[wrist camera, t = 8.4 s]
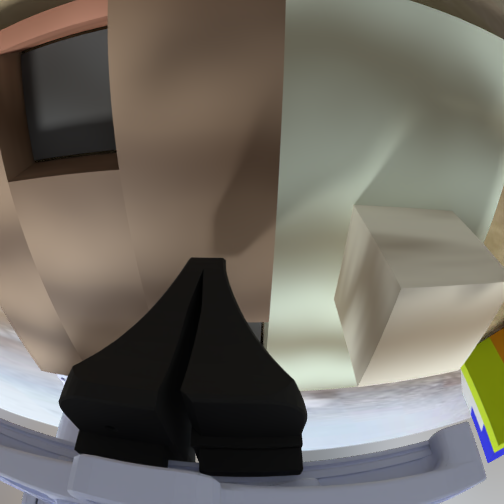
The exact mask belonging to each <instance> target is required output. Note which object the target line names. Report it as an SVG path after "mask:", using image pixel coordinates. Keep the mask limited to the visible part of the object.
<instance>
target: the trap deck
mask: <svg viewBox="0 0 504 504" xmlns="http://www.w3.org/2000/svg"><path fill="white" fill-rule="evenodd" d="M103 26H108V29H104V30H100V31H96V32H91V33H87V34H84V35H80V36H76V37H72V38H69V39H66V40H62V41H59V42H56V43H53V44H49V45H46V46H43V47H41V48H38V49H35V50H32V51H29V52H27V53H24V54H21V52H22V51H24V50H27V49H30V48H32V47H35V46H38V45H41V44H43V43H46V42H49V41H52V40H56V39H59V38H62V37H65V36H69V35H72V34H76V33H79V32H83V31H87V30H91V29H95V28H99V27H103ZM108 150H117V152H112V153H102V154H93V155H84V156H76V157H69V158H61V159H54V160H48V161H41V162H35V160H40V159H46V158H53V157H60V156H67V155H74V154H82V153H90V152H99V151H108ZM503 185H504V39H502V38H500V37H498V36H496V35H494V34H492V33H490V32H488V31H486V30H484V29H482V28H480V27H478V26H475V25H473V24H471V23H469V22H467V21H464V20H462V19H460V18H457V17H455V16H452V15H450V14H447V13H445V12H442V11H439V10H437V9H434V8H431V7H428V6H425V5H422V4H419V3H416V2H413V1H410V0H75V1H72V2H69V3H66V4H63V5H60V6H57V7H55V8H52V9H49V10H46V11H44V12H41V13H39V14H36V15H34V16H31V17H29V18H26V19H24V20H22V21H20V22H17V23H15V24H13V25H11V26H9V27H7V28H4V29H2V30H0V306H1V308H2V310H3V311H4V313H5V315H6V317H7V318H8V320H9V322H10V324H11V325H12V327H13V329H14V330H15V332H16V333H17V335H18V337H19V338H20V340H21V341H22V343H23V345H24V346H25V348H26V349H27V351H28V352H29V354H30V355H31V357H32V358H33V359H34V361H35V362H36V364H37V365H38V367H39V368H40V369H41V371H45V372H50V373H55V374H60V375H65V376H68V375H69V373H70V371H71V369H72V367H73V366H74V365H76V364H78V363H80V362H81V361H83V360H85V359H87V358H89V357H90V356H92V355H94V354H96V353H97V352H99V351H101V350H102V349H104V348H105V347H107V346H108V345H110V344H111V343H112V342H114V341H115V340H117V339H118V338H119V337H121V336H122V335H123V334H124V333H125V332H127V331H128V330H129V329H130V328H131V327H133V326H134V325H135V324H136V323H137V322H138V321H139V320H140V319H141V318H142V317H143V316H144V315H145V314H146V313H147V312H148V311H149V310H150V309H151V308H152V307H153V306H154V305H155V304H156V302H157V301H158V300H159V299H160V298H161V297H162V296H163V294H164V293H165V292H166V291H167V289H168V288H169V287H170V286H171V284H172V283H173V282H174V280H175V279H176V278H177V276H178V275H179V273H180V272H181V271H182V269H183V268H184V266H185V265H186V263H187V261H188V260H189V259H190V258H191V257H197V258H224V259H225V260H226V271H227V276H228V280H229V283H230V286H231V289H232V292H233V294H234V297H235V299H236V302H237V304H238V306H239V308H240V310H241V312H242V314H243V316H244V318H245V319H246V321H247V323H248V325H249V326H250V328H251V329H252V331H253V332H254V334H255V336H256V337H257V338H258V340H259V341H261V323H262V322H264V337H263V346H264V348H265V349H266V350H267V351H268V353H269V354H270V355H271V356H272V357H273V359H274V360H275V361H276V362H277V363H278V364H279V365H280V366H281V367H282V368H283V369H284V370H285V371H286V372H287V373H288V374H289V375H290V376H291V377H292V378H293V379H294V380H295V382H296V384H297V386H298V388H299V391H311V390H325V389H337V388H348V387H358V386H357V382H356V378H355V374H354V371H353V367H352V363H351V359H350V355H349V351H348V348H347V344H346V340H345V337H344V333H343V330H342V326H341V322H340V319H339V315H338V312H337V308H336V305H335V302H334V296H335V291H336V287H337V283H338V278H339V274H340V269H341V265H342V260H343V256H344V251H345V246H346V241H347V236H348V231H349V226H350V220H351V215H352V209H353V205H369V206H388V207H405V208H420V209H434V210H446V211H453V212H454V213H455V214H456V215H457V216H458V217H459V218H460V219H461V220H462V222H463V223H464V224H465V225H466V226H467V227H468V228H469V229H470V230H471V231H472V232H473V233H474V234H475V235H476V236H477V237H478V239H479V240H480V241H481V242H482V243H484V241H485V238H486V235H487V233H488V230H489V227H490V225H491V222H492V219H493V216H494V213H495V211H496V208H497V205H498V201H499V198H500V195H501V192H502V189H503Z"/></svg>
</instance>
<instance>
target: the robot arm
mask: <svg viewBox="0 0 504 504" xmlns="http://www.w3.org/2000/svg"><path fill="white" fill-rule="evenodd" d="M57 376H58V377H59V379H60V380H61V381H62V383H63V384H64V387H63V390H62V393H61V396H60V399H59V405H60V408H61V409H62V411H63V414H62V418H61V421H60V424H59V427H58V431H57V434H56V437H52V436H49V435H46V434H43V433H40V432H36V431H34V430H31V429H28V428H25V427H22V426H19V425H17V424H14V423H11V422H9V421H6V420H3V419H1V418H0V480H1V481H3V482H4V483H6V484H8V485H10V486H13V487H15V488H17V489H19V490H21V491H23V492H24V493H23V498H22V504H439V503H441V502H444V501H446V500H448V499H451V498H453V497H455V496H457V495H459V494H461V493H463V492H465V491H466V490H468V489H470V488H472V487H474V486H475V485H477V484H479V483H481V482H482V481H484V480H485V479H486V474H485V471H484V467H483V464H482V461H481V457H480V454H479V451H478V448H477V445H476V442H475V439H474V436H473V433H472V431H471V428H470V425H469V422H463V423H460V424H457V425H453V426H450V427H447V428H444V429H442V430H440V431H438V432H436V433H435V434H434V435H433V436H432V437H431V438H430V439H429V440H428V441H423V442H420V443H416V444H412V445H408V446H404V447H399V448H395V449H390V450H385V451H381V452H376V453H370V454H364V455H358V456H351V457H344V458H337V459H329V460H320V461H310V462H303V461H302V450H301V447H302V444H303V443H302V431H303V429H304V426H305V424H306V421H307V411H306V407H305V403H304V400H303V398H302V395H301V393H300V391H299V388H298V386H297V384H296V382H295V380H294V379H293V378H292V377H291V376H290V375H289V374H288V373H287V372H286V371H285V370H284V369H283V368H282V367H281V366H280V365H279V364H278V363H277V362H276V361H275V360H274V359H273V357H272V356H271V355H270V354H269V353H268V351H267V350H266V349H265V348H264V346H263V345H262V344H261V342H260V341H259V340H258V338H257V337H256V336H255V334H254V332H253V331H252V329H251V328H250V326H249V325H248V323H247V321H246V319H245V318H244V316H243V314H242V312H241V310H240V308H239V306H238V304H237V302H236V299H235V297H234V294H233V292H232V289H231V286H230V283H229V280H228V276H227V271H226V260H225V259H224V258H197V257H191V258H190V259H189V260H188V261H187V263H186V265H185V266H184V268H183V269H182V271H181V272H180V273H179V275H178V276H177V278H176V279H175V280H174V282H173V283H172V284H171V286H170V287H169V288H168V289H167V291H166V292H165V293H164V294H163V296H162V297H161V298H160V299H159V300H158V301H157V302H156V304H155V305H154V306H153V307H152V308H151V309H150V310H149V311H148V312H147V313H146V314H145V315H144V316H143V317H142V318H141V319H140V320H139V321H138V322H137V323H136V324H135V325H134V326H133V327H131V328H130V329H129V330H128V331H127V332H125V333H124V334H123V335H122V336H121V337H119V338H118V339H117V340H115V341H114V342H112V343H111V344H110V345H108V346H107V347H105V348H104V349H102V350H101V351H99V352H97V353H96V354H94V355H92V356H90V357H89V358H87V359H85V360H83V361H81V362H80V363H78V364H76V365H74V366H73V367H72V369H71V371H70V373H69V375H68V376H65V375H60V374H57ZM195 454H196V456H197V458H198V461H199V463H196V462H195Z"/></svg>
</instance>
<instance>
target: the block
mask: <svg viewBox="0 0 504 504" xmlns="http://www.w3.org/2000/svg"><path fill="white" fill-rule="evenodd" d="M334 302H335V305H336V308H337V312H338V315H339V319H340V322H341V326H342V330H343V333H344V337H345V340H346V344H347V348H348V351H349V355H350V359H351V363H352V367H353V371H354V374H355V378H356V382H357V386H358V387H362V386H370V385H378V384H385V383H392V382H399V381H405V380H411V379H417V378H422V377H428V376H433V375H438V374H443V373H448V372H452V371H457V370H460V368H461V367H462V365H463V364H464V363H465V361H466V360H467V359H468V357H469V356H470V354H471V353H472V351H473V350H474V349H475V347H476V346H477V344H478V343H479V341H480V340H481V338H482V336H483V335H484V333H485V332H486V330H487V329H488V327H489V325H490V324H491V322H492V321H493V319H494V317H495V316H496V314H497V312H498V311H499V309H500V307H501V305H502V304H503V302H504V267H503V266H502V265H501V264H500V262H499V261H498V260H497V259H496V258H495V257H494V255H493V254H492V253H491V252H490V251H489V250H488V249H487V247H486V246H485V245H484V244H483V243H482V242H481V241H480V240H479V239H478V237H477V236H476V235H475V234H474V233H473V232H472V231H471V230H470V229H469V228H468V227H467V226H466V225H465V224H464V223H463V222H462V220H461V219H460V218H459V217H458V216H457V215H456V214H455V213H454V212H453V211H446V210H434V209H420V208H405V207H388V206H369V205H353V209H352V215H351V220H350V226H349V231H348V236H347V241H346V246H345V251H344V256H343V260H342V265H341V269H340V274H339V278H338V283H337V287H336V291H335V296H334Z"/></svg>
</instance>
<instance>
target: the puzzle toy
mask: <svg viewBox="0 0 504 504" xmlns="http://www.w3.org/2000/svg"><path fill="white" fill-rule="evenodd" d="M461 379H462V394H463V396H464V398H465V401H466V403H467V406H468V408H469V411H470V414H471V416H472V419H473V421H474V424H475V427H476V430H477V432H478V435H479V438H480V441H481V444H482V447H483V450H484V453H485V456H486V459H487V462H488V463H489V462H491V461H493V460H495V459H496V458H498V457H500V456H502V455H504V328H503V329H501V330H500V331H498V332H496V333H495V334H493V335H492V336H490V337H489V338H487V339H485V340H484V341H482V342H480V343H479V344H477V346H476V347H475V349H474V350H473V351H472V353H471V354H470V356H469V357H468V359H467V360H466V361H465V363H464V364H463V365H462V367H461Z"/></svg>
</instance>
